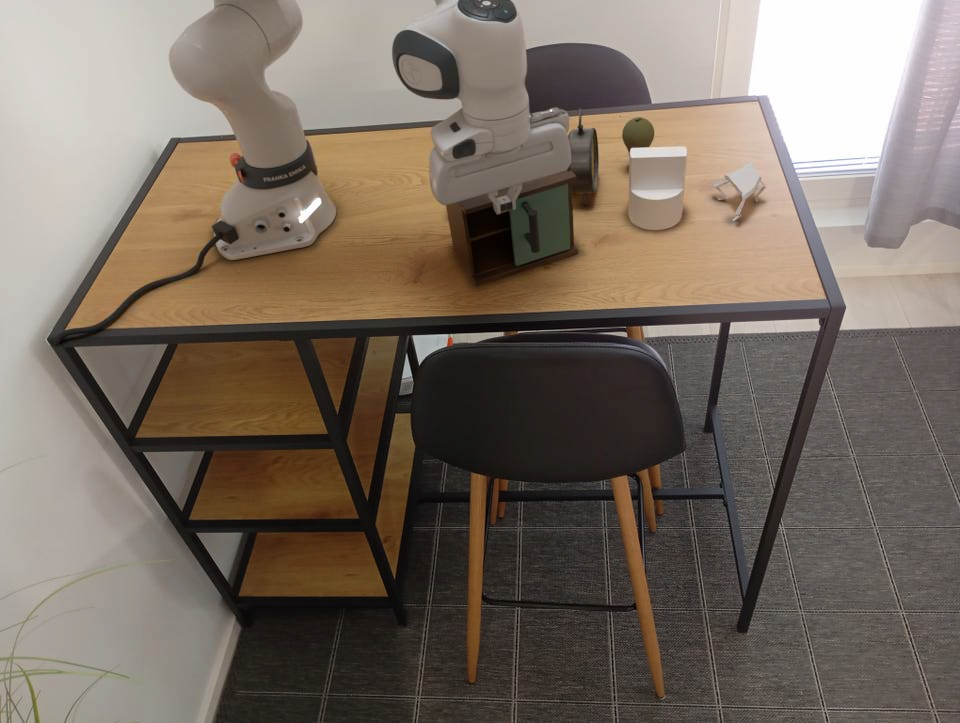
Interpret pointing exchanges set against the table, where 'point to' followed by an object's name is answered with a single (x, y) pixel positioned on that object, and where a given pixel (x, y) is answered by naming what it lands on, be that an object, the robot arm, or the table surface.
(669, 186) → the base with upright slab
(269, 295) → the table surface
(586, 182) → the alarm clock
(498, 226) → the brown wooden cabinet
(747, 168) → the white flat-topped legged piece
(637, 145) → the olive green rounded piece
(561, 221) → the green sliding door
